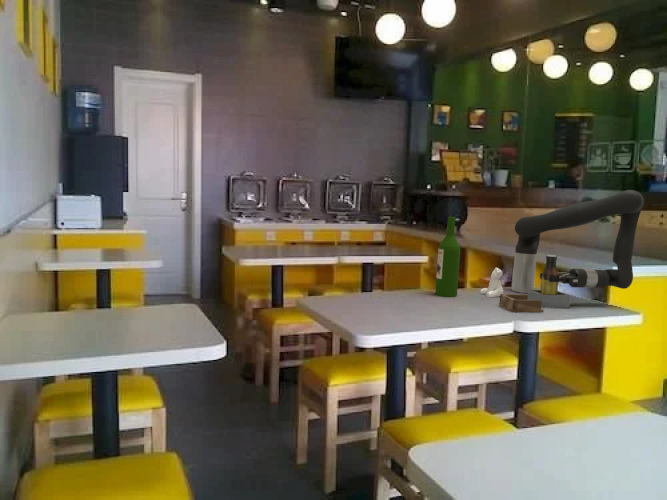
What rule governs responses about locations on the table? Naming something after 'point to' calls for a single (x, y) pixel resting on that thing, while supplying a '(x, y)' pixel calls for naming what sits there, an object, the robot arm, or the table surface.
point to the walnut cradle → (519, 303)
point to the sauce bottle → (549, 270)
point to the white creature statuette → (494, 285)
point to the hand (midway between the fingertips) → (544, 277)
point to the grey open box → (550, 299)
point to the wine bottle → (448, 263)
